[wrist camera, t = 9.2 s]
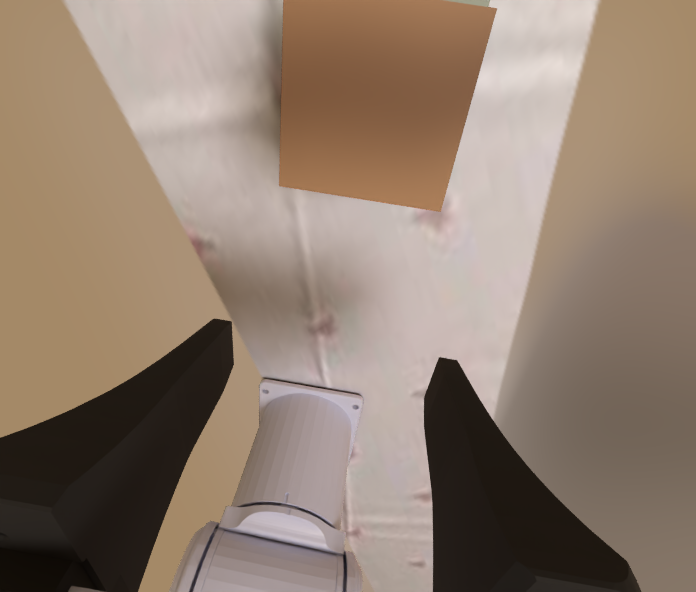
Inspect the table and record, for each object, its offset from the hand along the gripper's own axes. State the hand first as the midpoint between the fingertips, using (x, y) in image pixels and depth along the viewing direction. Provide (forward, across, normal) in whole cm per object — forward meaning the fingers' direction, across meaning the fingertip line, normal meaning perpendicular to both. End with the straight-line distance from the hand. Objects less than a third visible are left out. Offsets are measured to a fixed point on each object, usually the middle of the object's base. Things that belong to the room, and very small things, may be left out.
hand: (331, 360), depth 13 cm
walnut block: (+6, 0, -8) cm, 10 cm away
